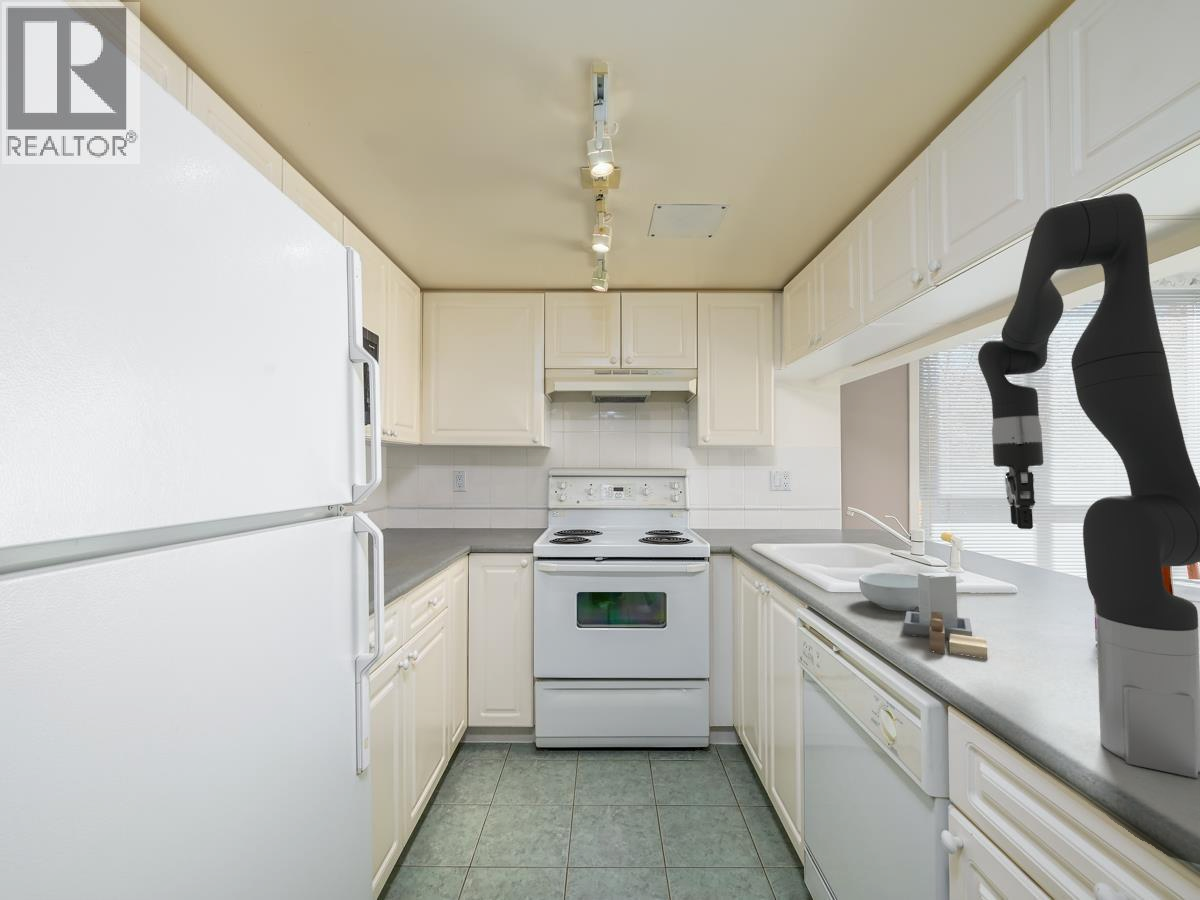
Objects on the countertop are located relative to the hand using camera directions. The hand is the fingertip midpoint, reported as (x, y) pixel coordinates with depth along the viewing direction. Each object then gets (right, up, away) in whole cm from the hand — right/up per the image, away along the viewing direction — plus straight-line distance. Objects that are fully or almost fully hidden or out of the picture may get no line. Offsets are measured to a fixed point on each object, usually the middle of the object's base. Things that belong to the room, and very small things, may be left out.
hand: (1021, 526), depth 102 cm
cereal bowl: (-5, -26, +35) cm, 44 cm away
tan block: (-8, -25, +4) cm, 27 cm away
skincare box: (-7, -25, +14) cm, 29 cm away
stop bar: (-12, -25, +6) cm, 29 cm away
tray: (-7, -25, +15) cm, 30 cm away
